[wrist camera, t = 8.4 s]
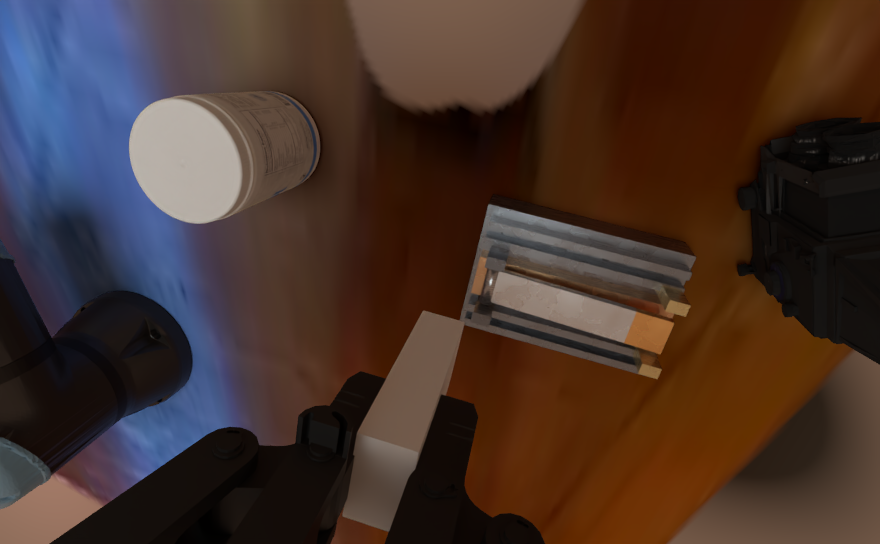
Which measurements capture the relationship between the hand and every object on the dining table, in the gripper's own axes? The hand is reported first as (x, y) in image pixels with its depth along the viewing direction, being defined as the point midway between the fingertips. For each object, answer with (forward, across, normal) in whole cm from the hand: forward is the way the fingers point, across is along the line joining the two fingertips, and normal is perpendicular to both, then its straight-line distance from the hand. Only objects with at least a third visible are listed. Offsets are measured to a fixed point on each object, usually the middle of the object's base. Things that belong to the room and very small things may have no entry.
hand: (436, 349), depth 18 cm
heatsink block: (+32, +8, -8) cm, 34 cm away
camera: (+33, +24, +4) cm, 41 cm away
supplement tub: (+33, -23, -2) cm, 40 cm away
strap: (+26, +8, -8) cm, 28 cm away
